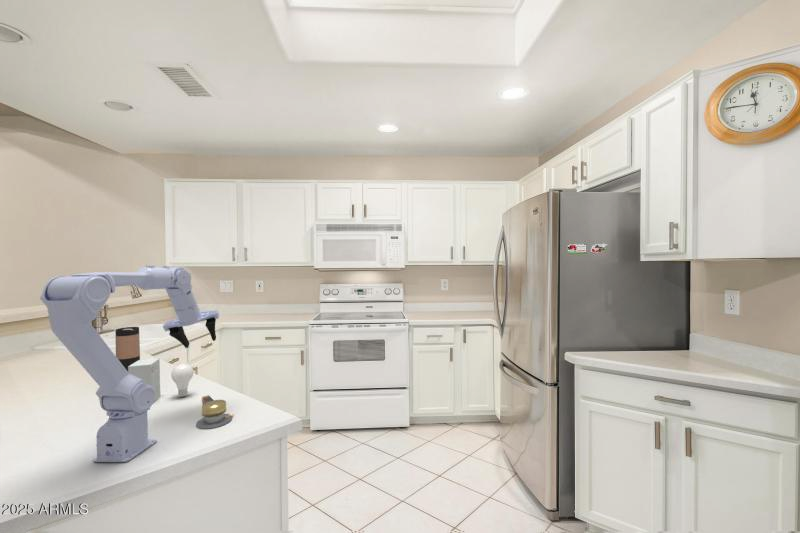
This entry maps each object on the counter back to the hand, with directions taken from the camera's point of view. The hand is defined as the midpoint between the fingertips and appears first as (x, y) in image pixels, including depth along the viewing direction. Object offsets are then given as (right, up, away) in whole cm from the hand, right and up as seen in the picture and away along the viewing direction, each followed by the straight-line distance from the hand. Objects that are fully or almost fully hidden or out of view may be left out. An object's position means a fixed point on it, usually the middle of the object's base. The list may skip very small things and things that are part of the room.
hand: (201, 342), depth 108 cm
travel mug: (-47, -21, +32) cm, 61 cm away
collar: (+7, -18, -7) cm, 20 cm away
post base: (+9, -20, -10) cm, 24 cm away
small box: (-22, -21, +7) cm, 31 cm away
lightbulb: (-12, -21, +10) cm, 26 cm away
